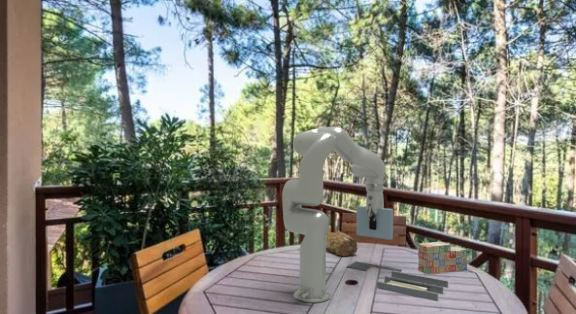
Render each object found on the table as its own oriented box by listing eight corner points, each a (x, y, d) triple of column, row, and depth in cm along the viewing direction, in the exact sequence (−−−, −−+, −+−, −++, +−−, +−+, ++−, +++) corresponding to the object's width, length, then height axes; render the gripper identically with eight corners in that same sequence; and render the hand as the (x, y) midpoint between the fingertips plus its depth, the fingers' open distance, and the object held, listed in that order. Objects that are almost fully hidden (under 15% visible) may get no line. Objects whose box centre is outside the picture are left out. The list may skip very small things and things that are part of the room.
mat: (394, 276, 162) (394, 275, 162) (346, 267, 174) (346, 266, 174) (401, 270, 170) (401, 269, 170) (355, 262, 183) (355, 261, 183)
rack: (437, 303, 133) (437, 294, 133) (377, 290, 146) (377, 282, 146) (448, 289, 147) (448, 281, 147) (392, 278, 160) (392, 271, 160)
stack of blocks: (457, 266, 178) (457, 239, 177) (467, 270, 172) (467, 243, 171) (418, 270, 171) (418, 243, 171) (427, 274, 165) (427, 246, 165)
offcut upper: (423, 296, 138) (423, 291, 138) (386, 287, 146) (386, 283, 146) (427, 292, 142) (427, 288, 142) (390, 284, 150) (390, 280, 150)
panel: (390, 239, 166) (390, 209, 166) (356, 235, 175) (356, 206, 175) (392, 238, 169) (393, 209, 169) (359, 233, 178) (359, 206, 178)
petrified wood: (361, 255, 193) (357, 236, 192) (337, 263, 190) (333, 243, 189) (345, 245, 212) (342, 228, 211) (323, 251, 209) (320, 234, 208)
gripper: (375, 190, 163) (375, 233, 163) (389, 187, 176) (388, 226, 177) (359, 188, 167) (359, 230, 167) (373, 186, 181) (373, 224, 181)
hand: (374, 228), depth 172 cm, fingers closed on panel, 3 cm apart
